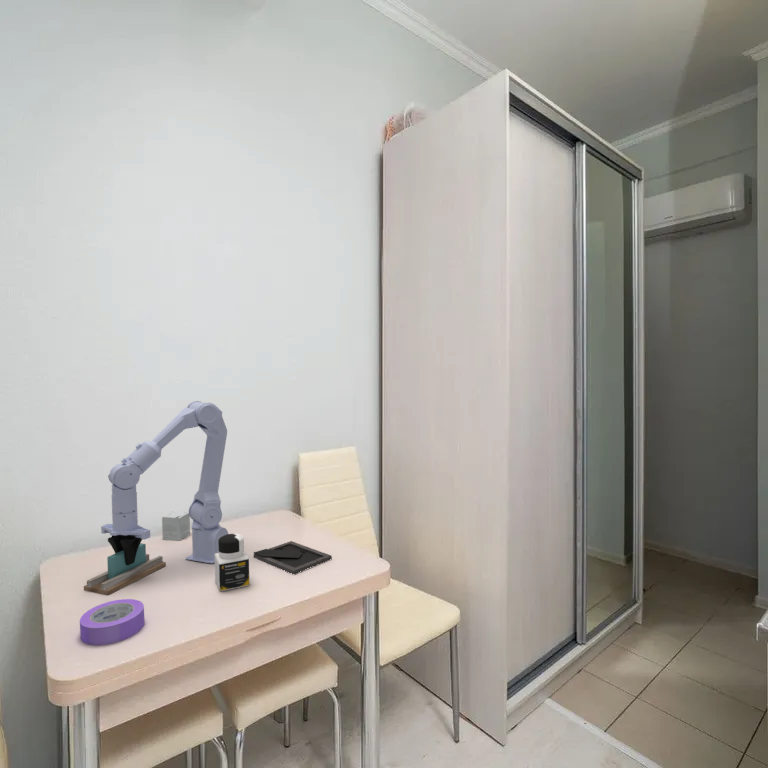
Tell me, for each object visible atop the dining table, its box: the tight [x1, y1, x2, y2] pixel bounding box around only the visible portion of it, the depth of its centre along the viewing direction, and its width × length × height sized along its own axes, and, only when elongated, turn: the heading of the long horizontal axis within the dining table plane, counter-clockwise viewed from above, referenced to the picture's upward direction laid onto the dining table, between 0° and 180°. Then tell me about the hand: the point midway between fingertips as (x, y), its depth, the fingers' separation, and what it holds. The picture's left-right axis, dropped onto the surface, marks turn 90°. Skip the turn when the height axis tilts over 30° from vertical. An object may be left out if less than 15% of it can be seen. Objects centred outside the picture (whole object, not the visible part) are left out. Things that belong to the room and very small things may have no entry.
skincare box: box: [161, 511, 191, 542], centre depth 158 cm, size 6×6×7 cm
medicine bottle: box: [214, 533, 250, 592], centre depth 124 cm, size 7×7×12 cm
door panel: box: [106, 542, 147, 580], centre depth 128 cm, size 2×10×6 cm, turn 159°
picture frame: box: [253, 540, 333, 575], centre depth 139 cm, size 13×2×18 cm
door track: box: [83, 553, 167, 596], centre depth 128 cm, size 8×18×2 cm, turn 160°
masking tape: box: [79, 598, 146, 646], centre depth 103 cm, size 12×12×4 cm
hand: (126, 563), depth 128 cm, fingers closed on door panel, 2 cm apart
